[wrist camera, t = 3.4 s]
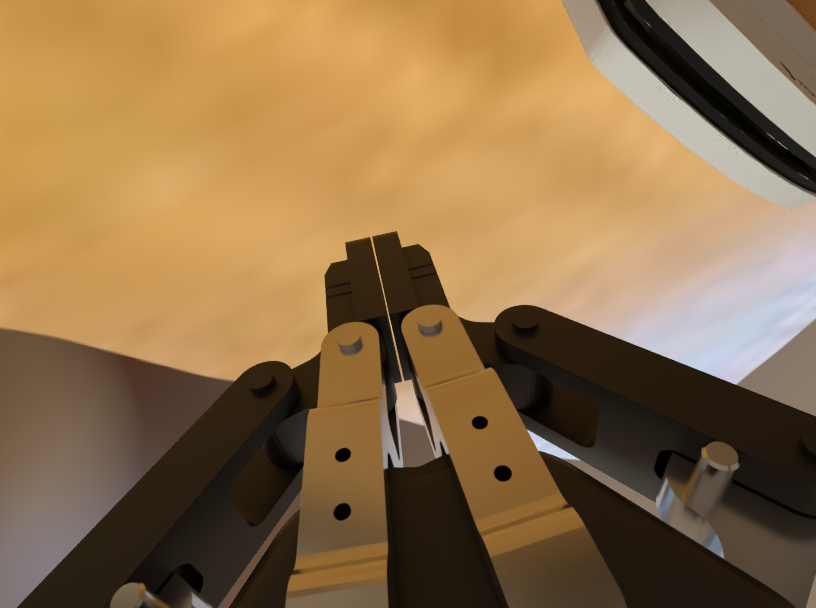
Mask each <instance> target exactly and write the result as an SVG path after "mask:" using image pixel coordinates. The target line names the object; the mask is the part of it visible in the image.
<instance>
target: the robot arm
mask: <svg viewBox="0 0 816 608" xmlns="http://www.w3.org/2000/svg"><path fill="white" fill-rule="evenodd" d="M372 238H373V242H374V247H375V252H376V256H377V261H378V265H379V270H380V275H381V279H382V284H383V288H384V293H385V297H386V302H387V307H388V311H389V316H390V320H391V324H392V329H393V333H394V337H395V342H396V346H397V350H398V355H399V359H400V364H401V368H402V372H403V377H404V381H406V380H411V379H412V382H413V386H414V390H415V395H416V399H417V404H418V407H419V410H420V413H421V416H422V419H423V422H424V425H425V428H426V431H427V434H428V437H429V440H430V442H431V446H432V449H433V452H434V455H435V457H436V459H434V460H433V461H430V462H428V463H426V464H425V465H422V466H419V467H403V461H402V450H401V440H400V430H399V419H398V409H397V405H396V400H397V395H396V389H395V384H394V383H398V382H402V379H401V375H400V370H399V365H398V361H397V356H396V351H395V347H394V342H393V337H392V333H391V328H390V323H389V319H388V314H387V309H386V305H385V300H384V295H383V291H382V286H381V282H380V278H379V273H378V269H377V265H376V261H375V256H374V252H373V248H372V243H371V239H370V237H368V238H364V239H359V240H355V241H350V242H346V243H345V244H346V252H347V259H348V260H345V261H340V262H335V263H331V265H330V266H329V268H328V270H327V272H326V274H325V288H326V290H325V291H326V307H327V323H328V334H327V335H326V336H325V338H324V339H323V342H322V345H321V351H320V353H319V354H317V355H316V356H315V357H314V358H312V359H311V360H309V361H307V362H305V363H303V364H301V365H299V366H297V367H295V368H293V369H291V368H290V367H289V366H288V365H287V364H285V363H283V362H279V361H268V362H263V363H260V364H257V365H255V366H253V367H251V368H249V369H248V370H246V371H245V372H244V373H243V374H242V375H241V376H240V377H239V378H238V379H237V380H236V381H235V382H234V383H233V384H232V385H231V386H230V387H229V388H228V389H227V390H226V391H225V392H224V393H223V394H222V395H221V396H220V397H219V398H218V399H217V401H216V402H215V403H214V404H213V405H212V406H211V407H210V408H209V409H208V410H207V411H206V412H205V413H204V414H203V415H202V416H201V417H200V418H199V419H198V421H196V422H195V423H194V424H193V425H192V426H191V428H190V429H189V430H188V431H187V432H186V433H185V434H184V435H183V436H182V437H181V438H180V439H179V440H178V441H177V442H176V443H175V444H174V445H173V446H172V447H171V448H170V449H169V450H168V451H167V452H166V453H165V454H164V456H163V457H162V458H161V459H160V460H159V461H158V462H157V463H156V464H155V465H154V466H153V467H152V468H151V469H150V470H149V471H148V472H147V473H146V474H145V475H144V476H143V477H142V478H141V480H139V481H138V482H137V484H135V485H134V487H133V488H132V489H131V490H130V491H129V492H128V493H127V494H126V495H125V496H124V497H123V498H122V499H121V500H120V501H119V502H118V503H117V504H116V505H115V506H114V507H113V508H112V509H111V510H110V511H109V512H108V514H107V515H106V516H105V517H104V518H103V519H102V520H101V521H100V522H99V523H98V524H97V525H96V526H95V527H94V528H93V529H92V530H91V531H90V532H89V533H88V534H87V535H86V536H85V537H84V539H82V540H81V541H80V543H79V544H78V545H77V546H76V547H75V548H74V549H73V550H72V551H71V552H70V553H69V554H68V555H67V556H66V557H65V558H64V559H63V560H62V561H61V562H60V563H59V564H58V565H57V566H56V567H55V568H54V570H53V571H52V572H51V573H50V574H49V575H48V576H47V577H46V578H45V579H44V580H43V581H42V582H41V583H40V584H39V585H38V586H37V587H36V588H35V589H34V590H33V591H32V592H31V593H30V594H29V595H28V596H27V598H26V599H25V600H24V601H23V602H22V603H21V604H20V605H19V606H18V607H17V608H218V606H219V605H220V603H221V602H222V601H223V599H224V598H225V596H226V595H227V594H228V592H229V591H230V589H231V588H232V586H233V585H234V584H235V582H236V581H237V579H238V578H239V577H240V575H241V574H242V572H243V571H244V570H245V568H246V567H247V565H248V564H249V562H250V561H251V559H252V558H253V557H254V555H255V554H256V553H257V551H258V550H259V548H260V547H261V545H262V544H263V543H264V541H265V540H266V538H267V537H268V536H269V534H270V533H271V531H272V530H273V529H274V527H275V526H276V524H277V523H278V522H279V520H280V519H281V517H282V516H283V514H284V513H285V512H286V510H287V509H288V507H289V506H290V505H291V503H292V502H293V500H294V499H295V497H296V496H297V495H298V493H299V492H300V490H301V489H302V493H301V505H300V509H299V510H298V511H297V512H296V513H295V514H294V515H293V516H292V517H291V518H290V519H289V520H288V521H287V522H286V524H285V525H284V526H283V527H282V528H281V530H280V531H279V532H278V534H277V535H276V537H275V538H274V540H273V541H272V543H271V544H270V546H269V547H268V549H267V550H266V552H265V553H264V555H263V556H262V558H261V560H260V561H259V563H258V564H257V566H256V567H255V569H254V570H253V572H252V573H251V575H250V576H249V578H248V579H247V581H246V583H245V584H244V586H243V587H242V588H241V590H240V592H239V593H238V595H237V596H236V598H235V599H234V601H233V602H232V604H231V605H230V607H229V608H806V605H807V601H808V598H809V595H810V591H811V588H812V585H813V581H814V578H815V574H816V416H813V415H811V414H808V413H806V412H803V411H800V410H798V409H796V408H793V407H790V406H788V405H785V404H783V403H780V402H778V401H775V400H773V399H770V398H768V397H765V396H763V395H760V394H757V393H755V392H752V391H750V390H748V389H745V388H742V387H740V386H737V385H735V384H732V383H730V382H727V381H725V380H722V379H720V378H717V377H715V376H712V375H710V374H707V373H705V372H702V371H699V370H697V369H694V368H692V367H689V366H687V365H684V364H682V363H679V362H677V361H674V360H672V359H669V358H667V357H664V356H661V355H659V354H656V353H654V352H651V351H649V350H646V349H644V348H641V347H639V346H636V345H634V344H631V343H629V342H626V341H623V340H621V339H618V338H616V337H613V336H611V335H608V334H606V333H603V332H601V331H598V330H596V329H593V328H591V327H588V326H586V325H583V324H580V323H578V322H575V321H573V320H570V319H568V318H565V317H563V316H560V315H558V314H555V313H553V312H550V311H548V310H545V309H542V308H540V307H537V306H532V305H518V306H513V307H510V308H508V309H506V310H504V311H502V312H501V313H500V314H499V315H498V316H497V318H496V320H495V322H473V321H468V320H465V319H463V318H460V317H459V316H457V314H456V313H455V312H454V311H453V310H452V309H451V308H450V306H449V304H448V301H447V298H446V296H445V293H444V290H443V288H442V285H441V282H440V280H439V277H438V274H437V272H436V269H435V266H434V264H433V261H432V259H431V256H430V253H429V252H428V251H427V250H425V249H424V248H423V247H421V246H420V245H419V244H417V245H412V246H408V247H403V248H402V247H401V244H400V240H399V237H398V234H397V231H395V232H391V233H386V234H382V235H377V236H372ZM527 430H529V431H531V432H533V433H535V434H536V435H538V436H540V437H542V438H543V439H545V440H547V441H549V442H550V443H552V444H554V445H556V446H557V447H559V448H561V449H563V450H564V451H566V452H568V453H570V454H571V455H573V456H575V457H577V458H579V459H580V460H582V461H584V462H586V463H587V464H590V465H591V466H593V467H594V468H596V469H598V470H600V471H602V472H603V473H605V474H607V475H609V476H610V477H612V478H614V479H615V480H617V481H619V482H621V483H622V484H624V485H626V486H628V487H630V488H631V489H633V490H635V491H637V492H638V493H640V494H642V495H644V496H646V497H647V498H649V499H651V500H652V501H654V502H656V505H657V510H658V512H659V515H660V517H661V518H662V520H663V521H662V520H660V519H659V518H657V517H656V516H654V515H652V514H651V513H649V512H647V511H646V510H644V509H643V508H641V507H640V506H638V505H636V504H635V503H633V502H631V501H630V500H628V499H627V498H625V497H623V496H622V495H620V494H619V493H617V492H615V491H614V490H612V489H610V488H609V487H607V486H606V485H604V484H602V483H601V482H599V481H598V480H596V479H594V478H593V477H591V476H590V475H588V474H586V473H585V472H583V471H582V470H580V469H578V468H577V467H575V466H573V465H572V464H570V463H568V462H566V461H565V460H562V459H560V458H558V457H556V456H554V455H551V454H548V453H545V452H541V451H538V450H537V448H536V446H535V444H534V442H533V440H532V439H531V437H530V435H529V433H528V431H527Z"/></svg>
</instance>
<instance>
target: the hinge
mask: <svg viewBox="0 0 816 608" xmlns="http://www.w3.org/2000/svg"><path fill="white" fill-rule="evenodd" d="M562 2H563V4H564V6H565V8H566V11H567V13H568V15H569V17H570V19H571V21H572V24H573V26H574V28H575V30H576V32H577V34H578V37H579V39H580V41H581V43H582V45H583V48H584V50H585V52H586V54H587V56H588V58H589V59H590V60H591V62H592V63H593V64H594V66H595V67H596V68H597V69H598V70H599V71H600V72H601V73H602V74H603V75H604V76H605V77H606V78H607V79H608V80H609V81H610V82H611V83H613V84H614V85H615V86H616V87H617V88H618V89H619V90H620V91H621V92H622V93H623V94H624V95H625V96H627V97H628V98H629V99H630V100H631V101H632V102H633V103H634V104H636V105H637V106H638V107H639V108H640V109H641V110H642V111H644V112H645V113H646V114H647V115H648V116H649V117H650V118H652V119H653V120H654V121H655V122H656V123H658V124H659V125H660V126H661V127H663V128H664V129H665V130H666V131H667V132H669V133H670V134H671V135H672V136H673V137H675V138H676V139H677V140H678V141H680V142H681V143H682V144H683V145H684V146H686V147H687V148H688V149H689V150H691V151H692V152H694V153H695V154H696V155H698V156H699V157H700V158H702V159H703V160H704V161H706V162H707V163H708V164H710V165H711V166H712V167H714V168H715V169H717V170H718V171H719V172H721V173H722V174H724V175H725V176H727V177H728V178H730V179H731V180H733V181H734V182H736V183H737V184H739V185H741V186H742V187H744V188H746V189H748V190H749V191H751V192H753V193H755V194H756V195H758V196H760V197H762V198H764V199H766V200H768V201H770V202H772V203H775V204H777V205H780V206H783V207H787V208H794V207H797V206H799V205H802V204H805V203H808V202H810V201H813V200H816V31H815V30H814V28H813V27H812V26H811V25H810V24H809V23H808V22H807V21H806V20H805V19H804V18H803V17H802V16H801V15H800V14H799V13H798V12H797V11H796V10H795V8H794V7H793V6H792V5H791V4H790V3H789V2H788V1H787V0H562Z"/></svg>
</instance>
